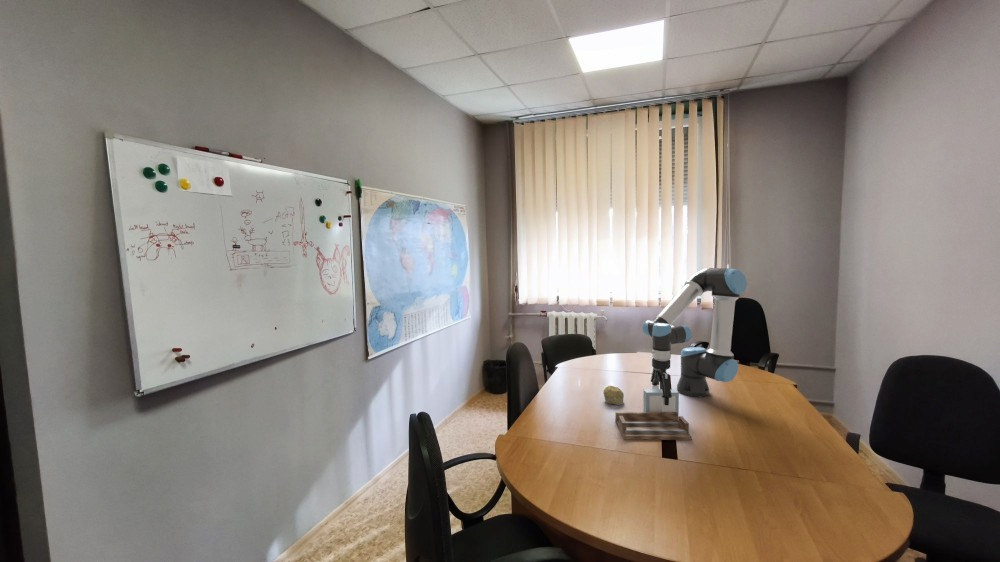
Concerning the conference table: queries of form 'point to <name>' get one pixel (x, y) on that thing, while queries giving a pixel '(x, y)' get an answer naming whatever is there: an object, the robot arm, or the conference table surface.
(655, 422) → the base
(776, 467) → the conference table surface
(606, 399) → the decorative item
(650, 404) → the door panel
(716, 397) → the conference table surface
